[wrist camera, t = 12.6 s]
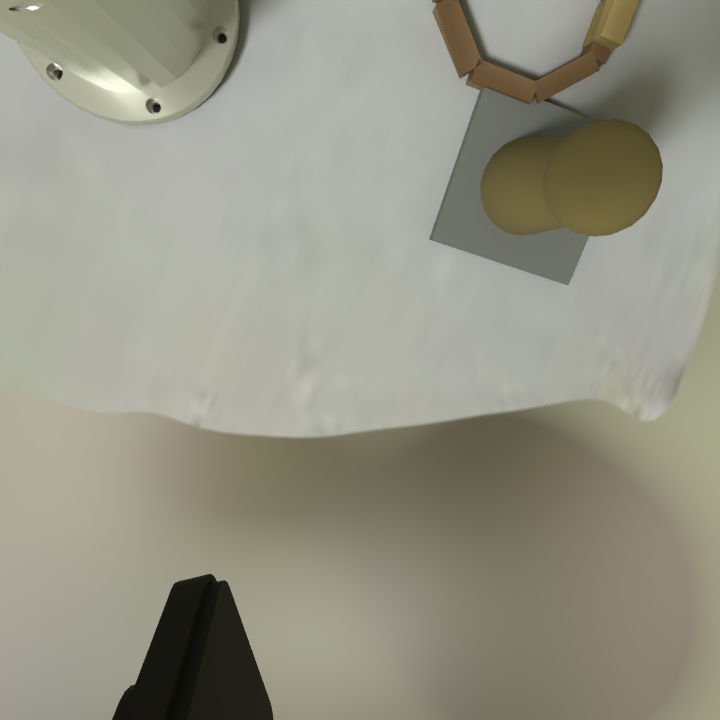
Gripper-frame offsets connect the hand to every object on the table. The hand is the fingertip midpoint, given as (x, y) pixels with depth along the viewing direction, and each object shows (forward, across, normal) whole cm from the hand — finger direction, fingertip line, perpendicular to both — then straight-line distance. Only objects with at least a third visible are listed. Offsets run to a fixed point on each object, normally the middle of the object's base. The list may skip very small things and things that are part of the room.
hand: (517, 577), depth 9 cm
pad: (+28, -12, -5) cm, 31 cm away
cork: (+28, -12, -5) cm, 30 cm away
